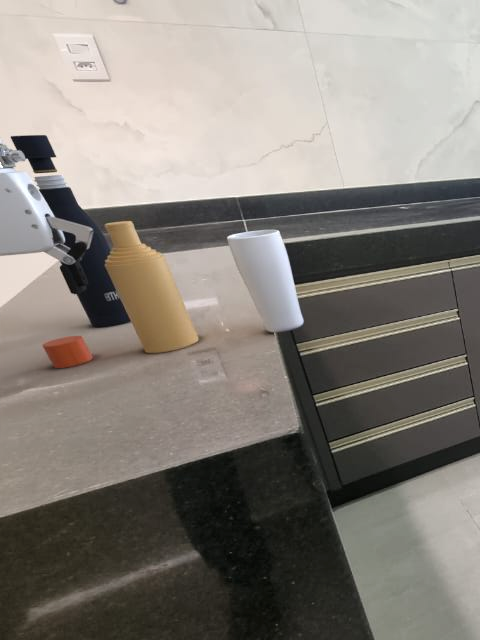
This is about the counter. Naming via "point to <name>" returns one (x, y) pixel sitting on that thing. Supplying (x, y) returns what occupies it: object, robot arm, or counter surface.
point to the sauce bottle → (148, 292)
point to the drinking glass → (267, 278)
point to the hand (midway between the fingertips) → (31, 297)
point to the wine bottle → (100, 290)
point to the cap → (67, 351)
